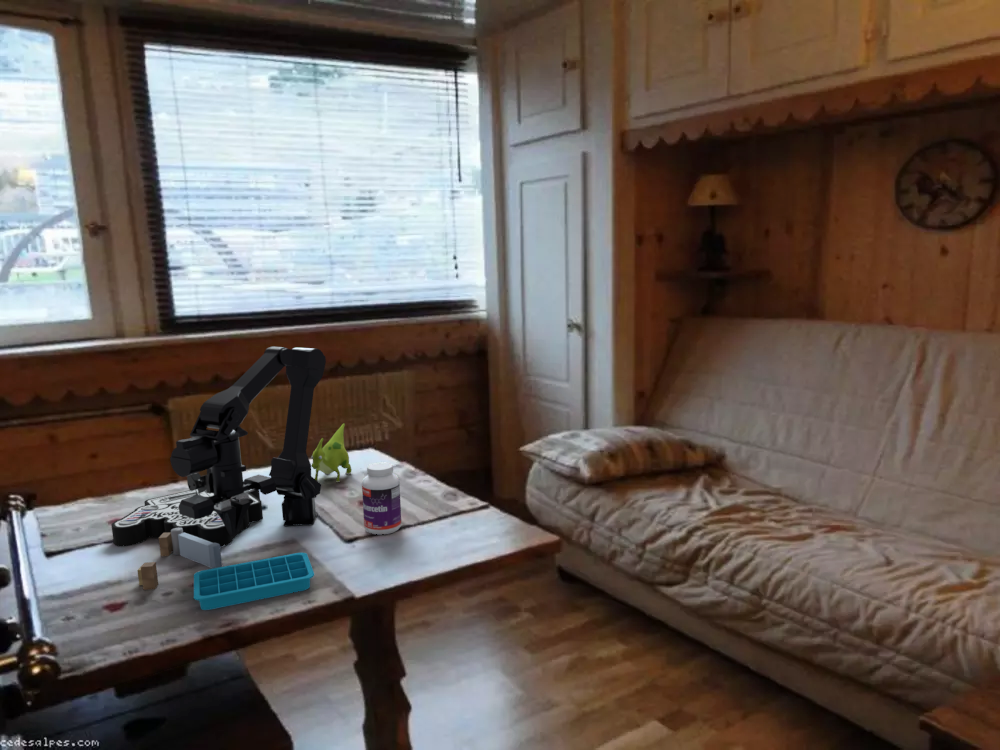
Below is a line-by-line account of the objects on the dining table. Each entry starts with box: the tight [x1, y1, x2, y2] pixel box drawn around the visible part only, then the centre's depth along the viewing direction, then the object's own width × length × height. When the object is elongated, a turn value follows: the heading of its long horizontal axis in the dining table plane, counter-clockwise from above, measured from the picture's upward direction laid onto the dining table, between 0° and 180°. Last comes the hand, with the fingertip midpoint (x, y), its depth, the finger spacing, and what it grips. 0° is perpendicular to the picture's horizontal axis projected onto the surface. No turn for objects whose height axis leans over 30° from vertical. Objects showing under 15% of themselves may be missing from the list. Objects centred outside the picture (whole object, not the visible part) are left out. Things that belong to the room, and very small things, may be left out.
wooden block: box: [137, 561, 159, 591], centre depth 132 cm, size 4×5×4 cm
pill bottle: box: [361, 461, 402, 536], centre depth 154 cm, size 8×8×14 cm
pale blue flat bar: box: [171, 528, 223, 569], centre depth 142 cm, size 2×15×5 cm, turn 55°
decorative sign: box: [110, 489, 264, 548], centre depth 163 cm, size 28×4×30 cm
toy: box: [310, 423, 353, 483], centre depth 190 cm, size 8×21×15 cm, turn 171°
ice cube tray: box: [193, 552, 315, 611], centre depth 130 cm, size 12×20×3 cm, turn 113°
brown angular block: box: [158, 532, 173, 557], centre depth 145 cm, size 2×3×4 cm, turn 5°
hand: (233, 535), depth 144 cm, fingers closed
